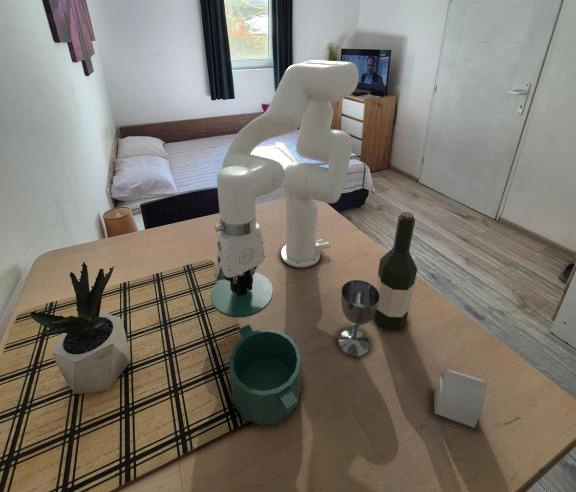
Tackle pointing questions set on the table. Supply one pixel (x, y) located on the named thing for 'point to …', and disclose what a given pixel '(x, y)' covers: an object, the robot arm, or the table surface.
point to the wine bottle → (396, 277)
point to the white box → (459, 397)
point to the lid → (242, 296)
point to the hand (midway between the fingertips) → (242, 289)
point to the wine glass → (357, 315)
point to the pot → (265, 375)
